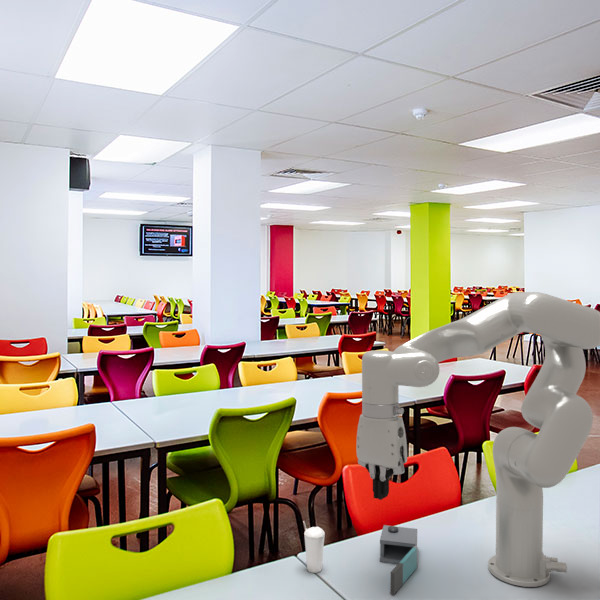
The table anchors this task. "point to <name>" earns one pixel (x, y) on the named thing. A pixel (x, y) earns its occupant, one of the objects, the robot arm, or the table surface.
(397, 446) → the robot arm
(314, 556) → the milkshake
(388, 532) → the camera case
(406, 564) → the door
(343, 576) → the table surface
